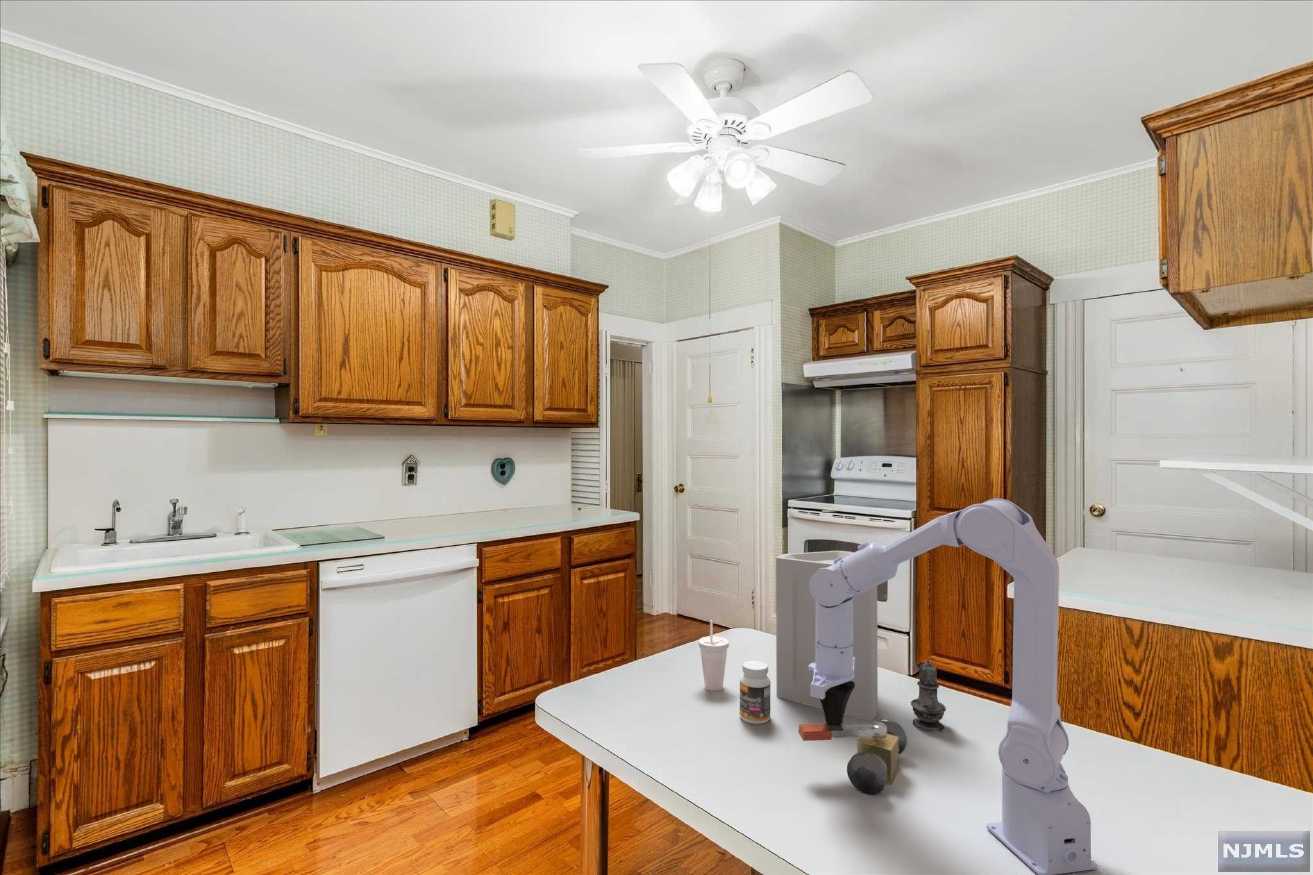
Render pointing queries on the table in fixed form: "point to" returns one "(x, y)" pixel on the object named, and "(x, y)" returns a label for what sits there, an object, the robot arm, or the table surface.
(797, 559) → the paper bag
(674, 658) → the table surface
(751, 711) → the pill bottle
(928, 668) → the salt shaker
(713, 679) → the smoothie
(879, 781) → the valve
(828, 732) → the valve lever
